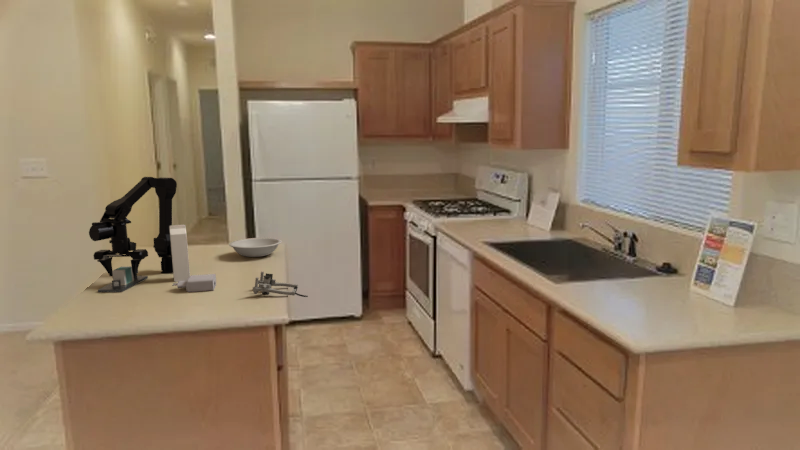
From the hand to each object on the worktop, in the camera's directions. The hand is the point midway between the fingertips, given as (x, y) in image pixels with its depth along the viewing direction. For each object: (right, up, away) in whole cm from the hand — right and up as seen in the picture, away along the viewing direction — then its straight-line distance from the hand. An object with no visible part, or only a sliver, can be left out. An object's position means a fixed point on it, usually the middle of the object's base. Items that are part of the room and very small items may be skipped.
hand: (123, 276), depth 222 cm
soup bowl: (+39, +5, +49) cm, 63 cm away
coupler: (0, -2, 0) cm, 2 cm away
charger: (+30, -5, -7) cm, 31 cm away
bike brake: (+64, -5, -14) cm, 66 cm away
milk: (+20, -2, +8) cm, 21 cm away
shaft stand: (0, -3, +1) cm, 4 cm away
